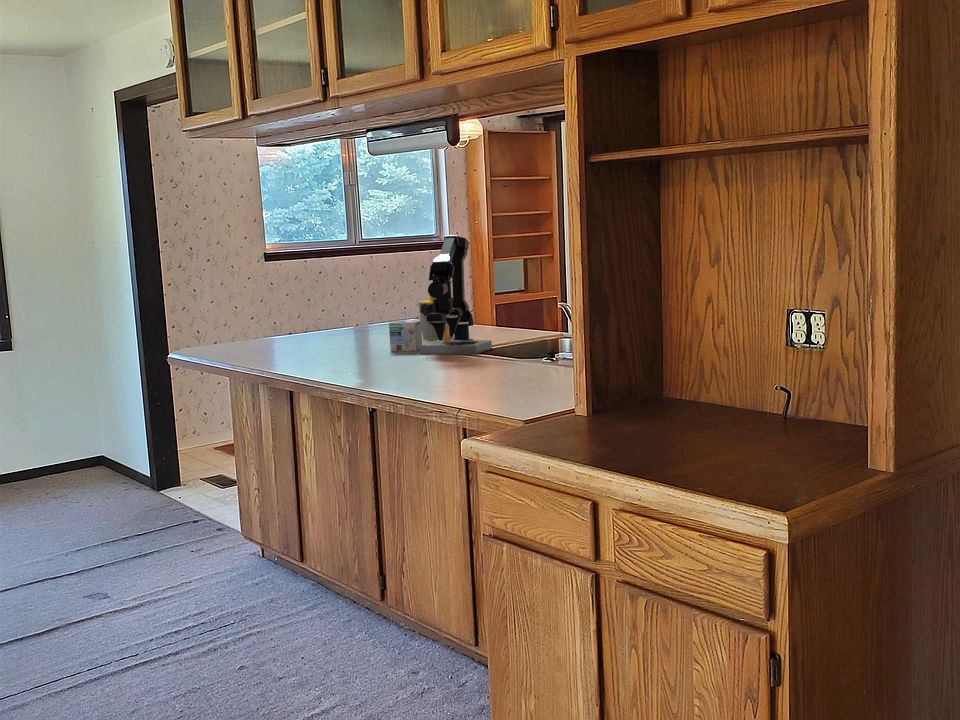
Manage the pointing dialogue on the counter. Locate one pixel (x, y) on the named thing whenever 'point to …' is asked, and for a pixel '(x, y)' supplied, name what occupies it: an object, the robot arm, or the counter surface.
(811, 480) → the counter surface
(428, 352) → the keyhole plate
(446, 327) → the headed peg
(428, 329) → the soap bottle
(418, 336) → the light bulb box
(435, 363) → the counter surface
